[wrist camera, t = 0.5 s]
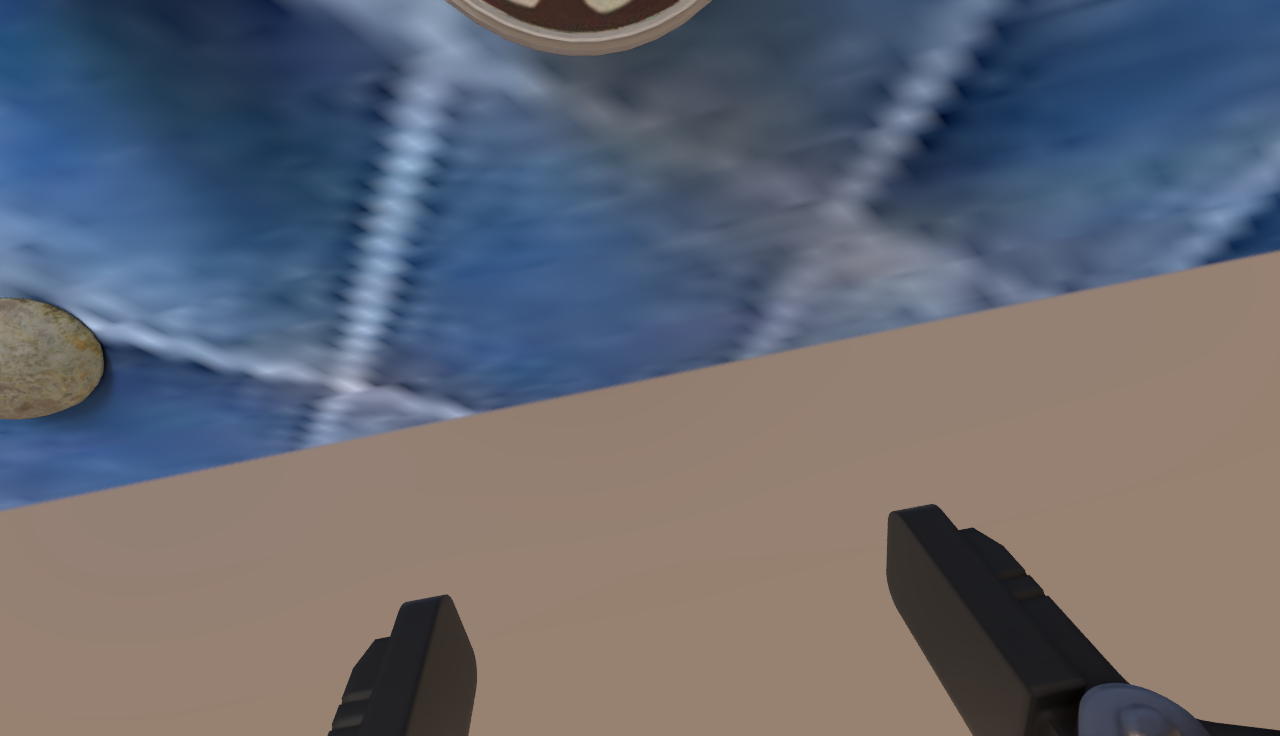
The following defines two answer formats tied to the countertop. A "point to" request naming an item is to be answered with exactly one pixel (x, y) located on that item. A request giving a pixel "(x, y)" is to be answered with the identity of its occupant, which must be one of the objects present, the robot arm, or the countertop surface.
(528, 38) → the food container
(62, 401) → the soupspoon
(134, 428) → the countertop surface
